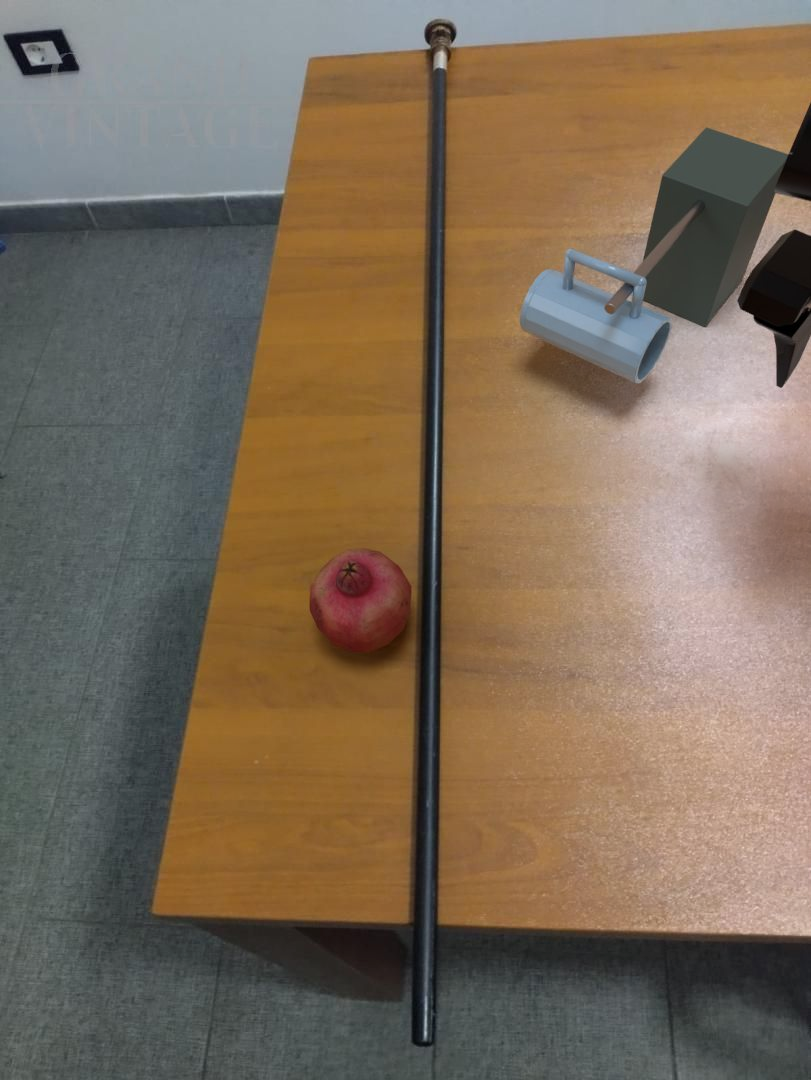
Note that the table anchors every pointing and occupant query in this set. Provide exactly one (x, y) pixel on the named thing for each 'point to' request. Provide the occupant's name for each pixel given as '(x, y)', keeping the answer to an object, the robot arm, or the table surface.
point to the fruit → (360, 600)
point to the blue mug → (596, 319)
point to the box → (706, 225)
